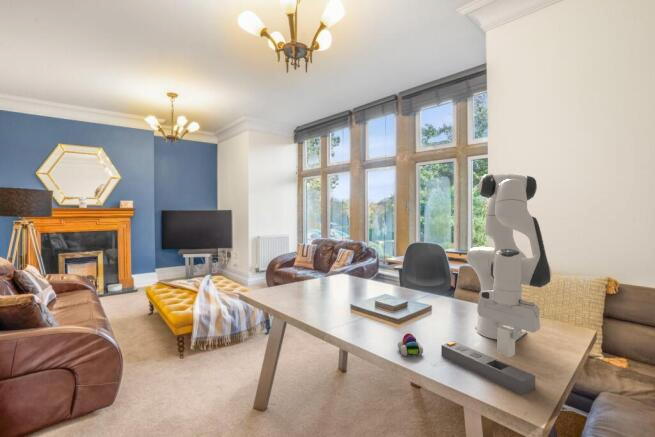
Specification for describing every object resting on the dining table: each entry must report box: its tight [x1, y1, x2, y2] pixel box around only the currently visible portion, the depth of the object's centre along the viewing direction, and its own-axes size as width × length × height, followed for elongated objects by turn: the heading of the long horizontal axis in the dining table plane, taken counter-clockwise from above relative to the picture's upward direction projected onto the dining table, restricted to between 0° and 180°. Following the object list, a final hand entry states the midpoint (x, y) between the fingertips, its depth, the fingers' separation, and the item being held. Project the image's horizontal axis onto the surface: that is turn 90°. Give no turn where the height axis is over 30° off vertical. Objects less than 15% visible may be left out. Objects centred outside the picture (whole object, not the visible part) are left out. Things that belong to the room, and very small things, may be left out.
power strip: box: [440, 340, 536, 396], centre depth 111 cm, size 7×30×6 cm, turn 30°
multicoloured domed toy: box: [397, 332, 424, 357], centre depth 127 cm, size 8×10×7 cm
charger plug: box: [496, 325, 516, 358], centre depth 111 cm, size 4×4×9 cm
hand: (506, 336), depth 111 cm, fingers closed on charger plug, 4 cm apart
